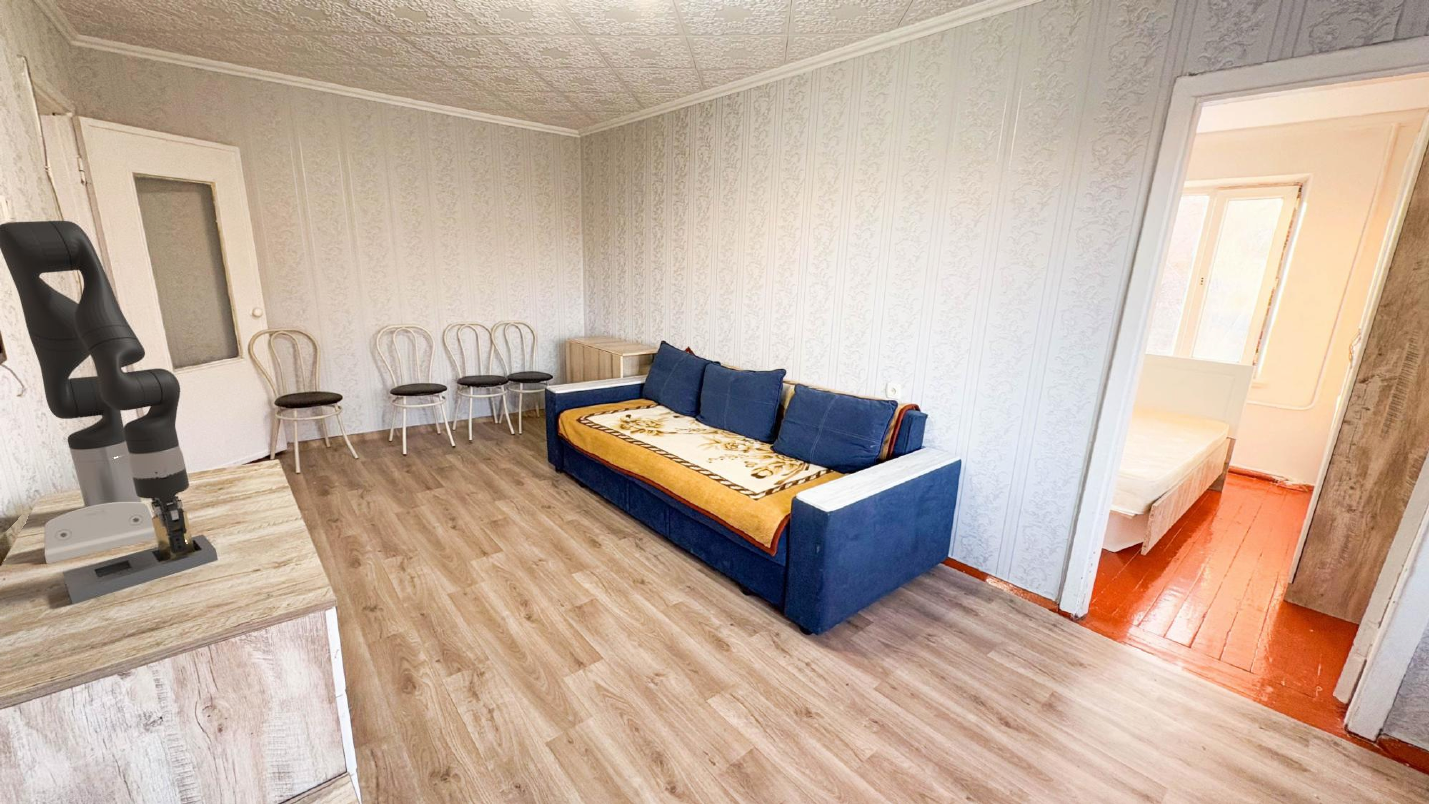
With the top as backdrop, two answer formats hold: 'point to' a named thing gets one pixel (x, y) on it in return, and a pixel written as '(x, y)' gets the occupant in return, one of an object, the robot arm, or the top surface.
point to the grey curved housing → (97, 529)
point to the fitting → (164, 541)
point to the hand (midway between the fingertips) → (176, 546)
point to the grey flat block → (133, 570)
